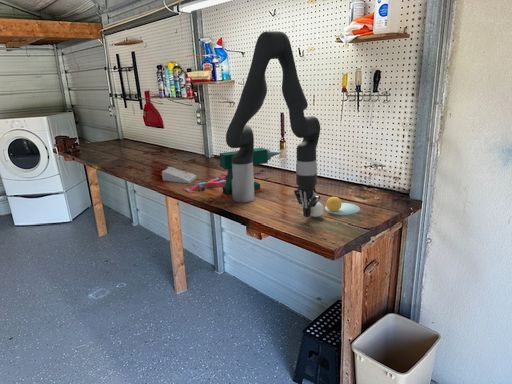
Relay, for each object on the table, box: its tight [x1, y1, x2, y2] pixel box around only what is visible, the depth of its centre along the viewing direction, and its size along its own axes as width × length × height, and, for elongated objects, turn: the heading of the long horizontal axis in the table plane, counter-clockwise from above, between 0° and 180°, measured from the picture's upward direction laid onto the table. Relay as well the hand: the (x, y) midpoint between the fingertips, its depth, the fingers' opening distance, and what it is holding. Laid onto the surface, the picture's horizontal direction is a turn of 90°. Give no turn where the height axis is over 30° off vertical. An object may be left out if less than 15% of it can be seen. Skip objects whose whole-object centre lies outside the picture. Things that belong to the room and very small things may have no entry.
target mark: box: [324, 202, 361, 216], centre depth 153 cm, size 14×14×1 cm
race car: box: [182, 170, 228, 194], centre depth 194 cm, size 14×6×25 cm
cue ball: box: [310, 201, 325, 218], centre depth 146 cm, size 6×6×6 cm
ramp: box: [161, 166, 197, 184], centre depth 212 cm, size 28×16×5 cm, turn 37°
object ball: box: [325, 196, 343, 212], centre depth 150 cm, size 6×6×6 cm
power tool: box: [218, 147, 281, 199], centre depth 181 cm, size 32×7×20 cm, turn 115°
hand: (306, 216), depth 143 cm, fingers closed
